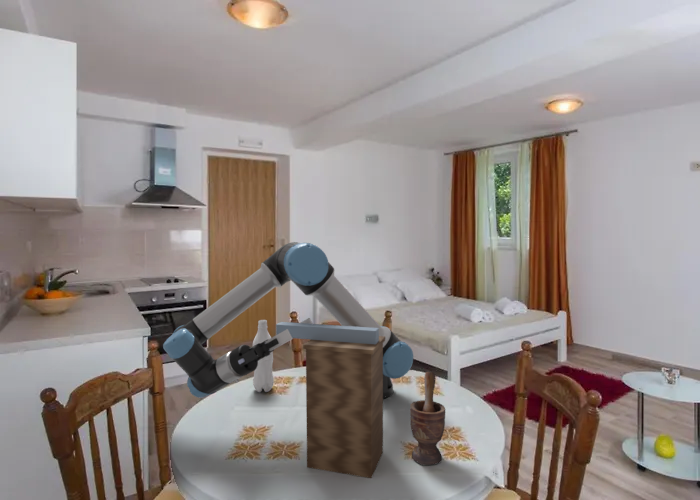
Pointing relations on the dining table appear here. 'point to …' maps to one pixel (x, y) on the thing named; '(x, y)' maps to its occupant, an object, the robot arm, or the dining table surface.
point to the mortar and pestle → (427, 425)
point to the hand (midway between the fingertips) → (301, 327)
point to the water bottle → (263, 361)
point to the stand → (344, 406)
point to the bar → (330, 332)
